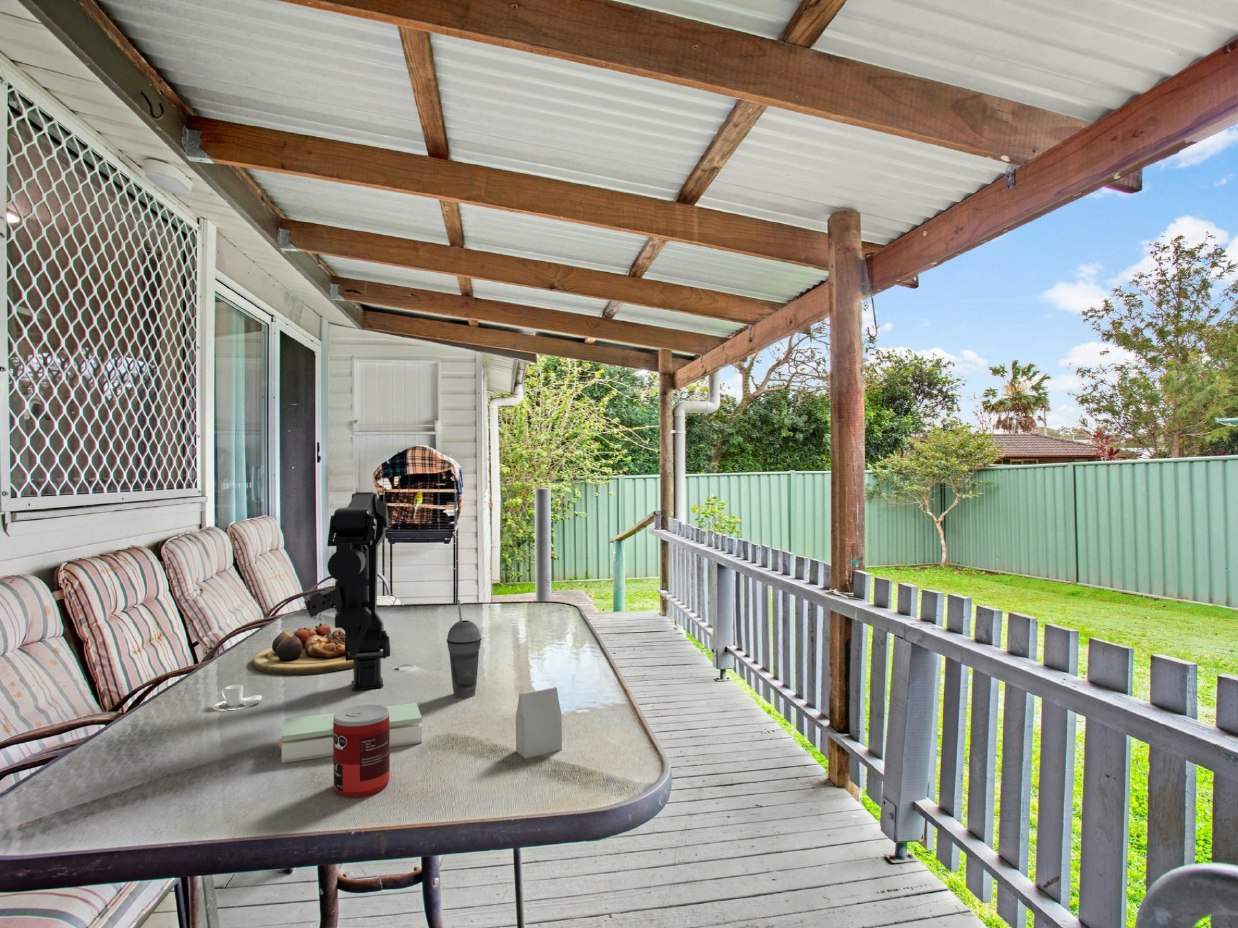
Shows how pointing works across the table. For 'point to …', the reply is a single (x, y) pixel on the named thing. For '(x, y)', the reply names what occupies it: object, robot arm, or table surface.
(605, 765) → the table surface
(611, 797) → the table surface
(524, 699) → the grey gable bag
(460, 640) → the beverage cup
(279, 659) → the wooden plate with food
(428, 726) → the table surface
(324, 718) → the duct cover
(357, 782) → the canned food
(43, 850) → the table surface
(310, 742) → the cable duct
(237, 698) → the teacup and saucer
